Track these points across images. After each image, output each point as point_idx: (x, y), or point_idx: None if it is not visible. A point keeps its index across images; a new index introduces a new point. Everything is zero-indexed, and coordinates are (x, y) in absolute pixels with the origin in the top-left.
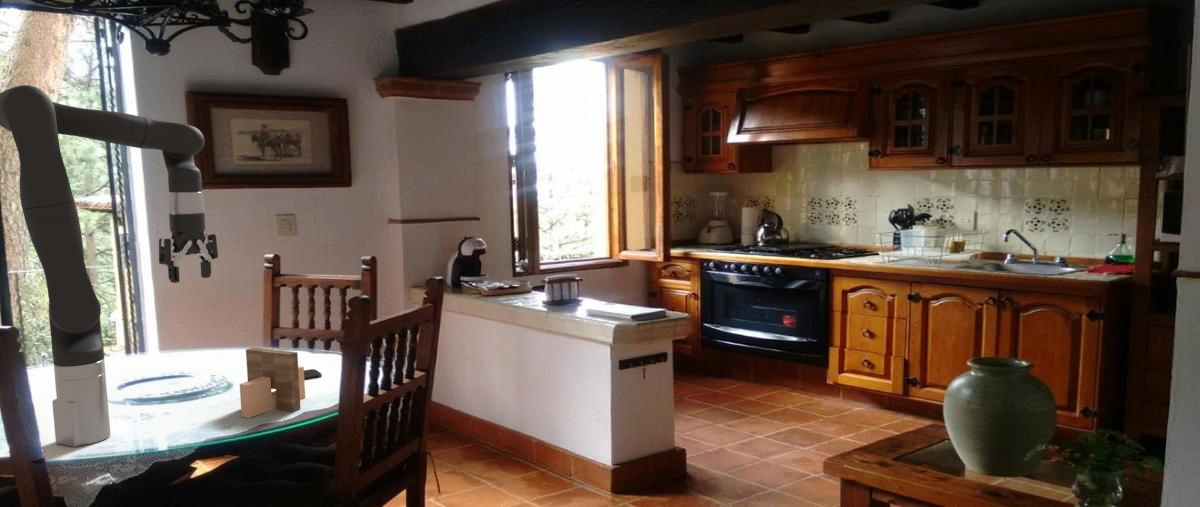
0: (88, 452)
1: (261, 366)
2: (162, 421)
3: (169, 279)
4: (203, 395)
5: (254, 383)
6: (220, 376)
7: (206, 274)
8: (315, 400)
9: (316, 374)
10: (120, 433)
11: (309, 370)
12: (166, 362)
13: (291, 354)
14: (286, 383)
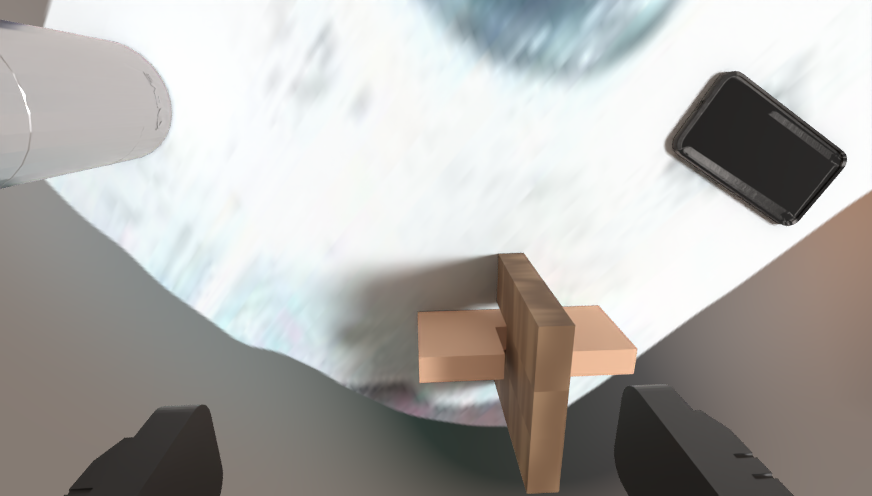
0: (75, 204)
1: (521, 358)
2: (307, 158)
3: (114, 451)
4: (532, 45)
5: (445, 380)
6: None
7: (634, 482)
8: None
9: (792, 209)
10: (191, 144)
11: (834, 154)
12: None
13: (533, 491)
14: (508, 410)
